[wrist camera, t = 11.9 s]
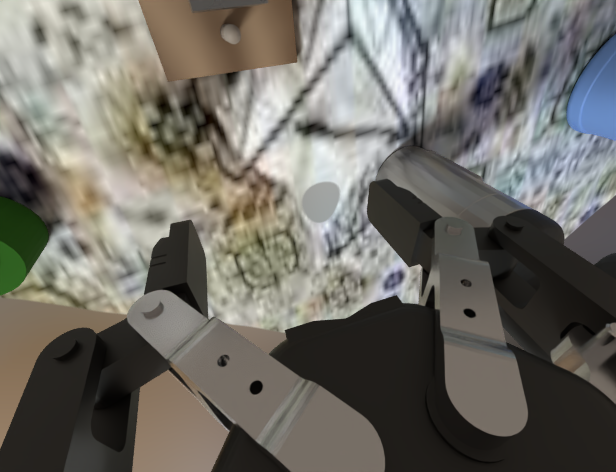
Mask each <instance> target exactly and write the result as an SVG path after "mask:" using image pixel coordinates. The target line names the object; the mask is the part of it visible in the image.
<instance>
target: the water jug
mask: <svg viewBox="0 0 616 472" xmlns="http://www.w3.org/2000/svg"><path fill="white" fill-rule="evenodd" d="M567 121H568V124H569V125H570V127H571V128H573V129H574V130H576V131H579V132H582V133H586V134H594V135H598V136H601V137H605V138H608V139H612V140H616V34H615V35H614V36H613V37H611V38H610V39H609V40H608V41H607V42H606V43H605V44H604V45H603V46H602V47H601V48H600V50H599V51H598V52H597V53H596V54H595V55H594V57H593V58H592V59H591V60H590V62H589V63H588V65H587V66H586V67H585V69H584V70H583V72H582V74H581V75H580V77H579V79H578V80H577V82H576V84H575V86H574V88H573V91H572V93H571V96H570V98H569V102H568V106H567Z"/></svg>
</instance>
